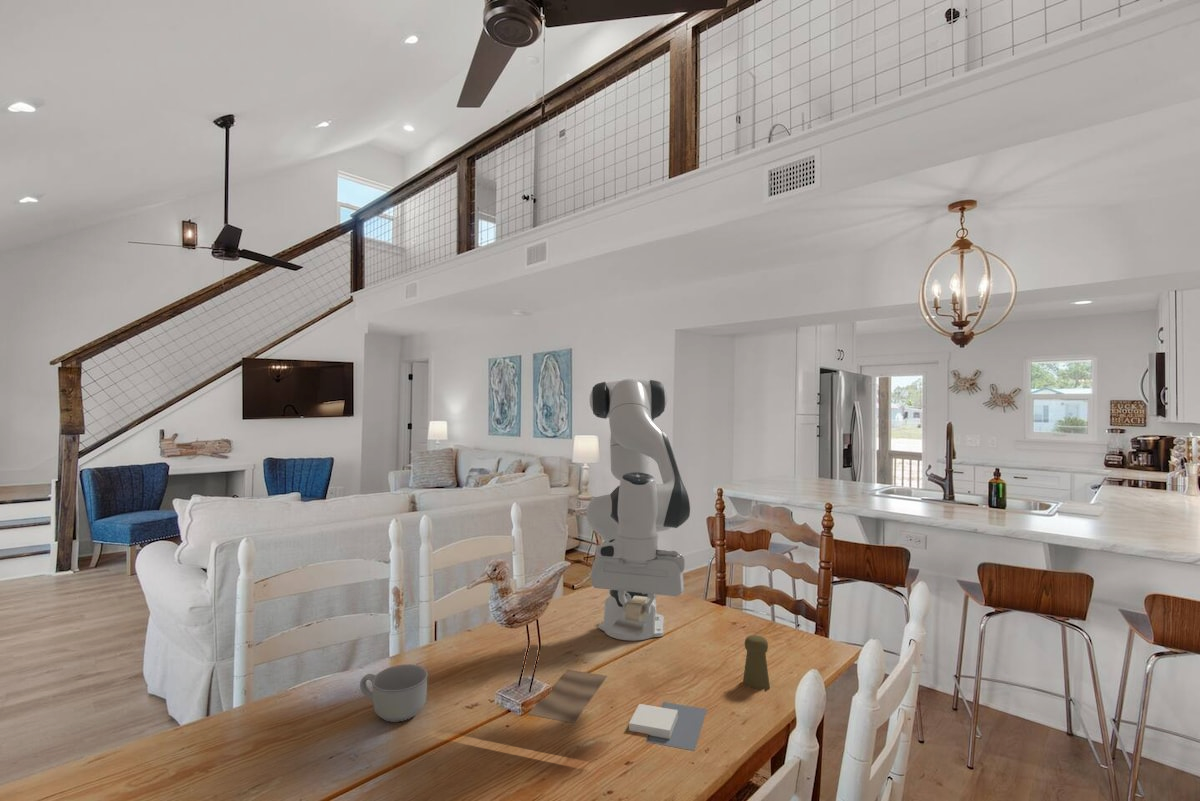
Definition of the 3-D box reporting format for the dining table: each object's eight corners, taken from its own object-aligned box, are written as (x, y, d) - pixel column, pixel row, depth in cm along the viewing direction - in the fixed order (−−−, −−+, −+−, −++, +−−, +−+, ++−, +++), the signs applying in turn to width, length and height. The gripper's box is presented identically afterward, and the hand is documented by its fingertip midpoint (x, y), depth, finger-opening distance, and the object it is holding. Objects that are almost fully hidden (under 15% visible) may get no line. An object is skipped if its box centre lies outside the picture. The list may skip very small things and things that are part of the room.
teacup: (437, 706, 123) (438, 668, 123) (404, 733, 113) (405, 691, 113) (383, 696, 128) (383, 659, 128) (346, 720, 117) (347, 680, 118)
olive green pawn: (770, 692, 131) (771, 643, 131) (743, 690, 132) (743, 640, 132) (768, 680, 137) (768, 633, 137) (742, 678, 138) (742, 631, 138)
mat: (623, 698, 128) (623, 695, 128) (706, 712, 122) (706, 709, 122) (600, 736, 112) (600, 733, 112) (694, 754, 107) (694, 750, 107)
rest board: (567, 673, 139) (567, 669, 139) (607, 680, 136) (607, 675, 136) (527, 719, 118) (527, 714, 118) (573, 728, 115) (573, 722, 115)
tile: (639, 703, 120) (629, 723, 113) (677, 710, 118) (669, 730, 110) (639, 712, 120) (628, 732, 113) (677, 719, 118) (669, 739, 110)
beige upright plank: (627, 610, 132) (628, 594, 132) (653, 613, 131) (654, 597, 131) (610, 632, 119) (610, 615, 119) (639, 636, 117) (639, 618, 117)
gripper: (686, 548, 128) (686, 612, 128) (597, 541, 134) (597, 602, 134) (682, 555, 122) (681, 622, 122) (589, 547, 128) (588, 611, 128)
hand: (636, 611), depth 128 cm, fingers closed on beige upright plank, 3 cm apart
